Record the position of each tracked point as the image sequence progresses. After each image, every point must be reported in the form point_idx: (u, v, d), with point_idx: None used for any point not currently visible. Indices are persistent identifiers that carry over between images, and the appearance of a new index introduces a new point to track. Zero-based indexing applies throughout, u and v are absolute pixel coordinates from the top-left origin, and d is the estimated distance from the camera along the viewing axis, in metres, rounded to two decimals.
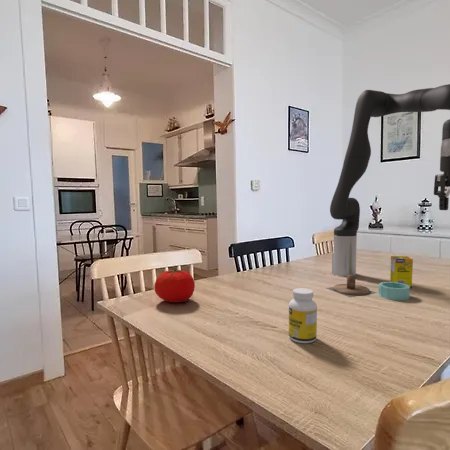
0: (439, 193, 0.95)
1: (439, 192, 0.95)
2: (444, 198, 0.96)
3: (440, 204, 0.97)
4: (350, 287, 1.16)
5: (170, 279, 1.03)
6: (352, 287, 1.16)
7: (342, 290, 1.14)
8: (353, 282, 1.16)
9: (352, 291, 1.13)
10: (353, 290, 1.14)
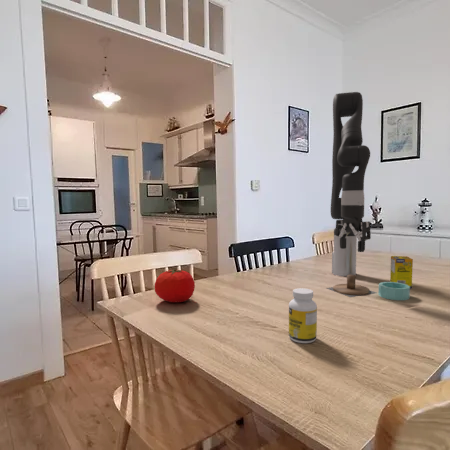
0: (368, 238, 1.09)
1: (368, 237, 1.09)
2: None
3: (362, 247, 1.11)
4: (350, 287, 1.16)
5: (170, 279, 1.03)
6: (352, 287, 1.16)
7: (342, 290, 1.15)
8: (353, 282, 1.16)
9: (352, 291, 1.13)
10: (353, 290, 1.14)
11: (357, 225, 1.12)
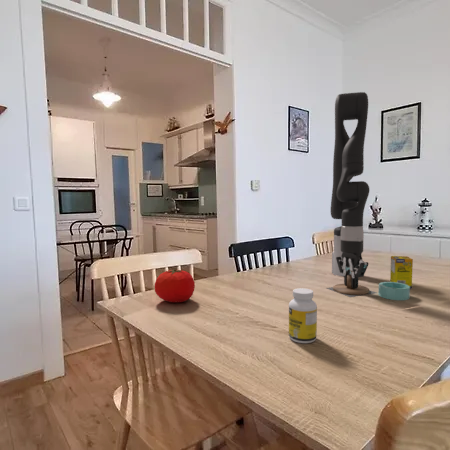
0: (361, 276, 1.13)
1: (361, 275, 1.13)
2: None
3: (355, 284, 1.14)
4: (350, 287, 1.16)
5: (170, 279, 1.03)
6: None
7: (342, 290, 1.15)
8: None
9: (352, 291, 1.13)
10: (353, 290, 1.14)
11: (356, 263, 1.13)
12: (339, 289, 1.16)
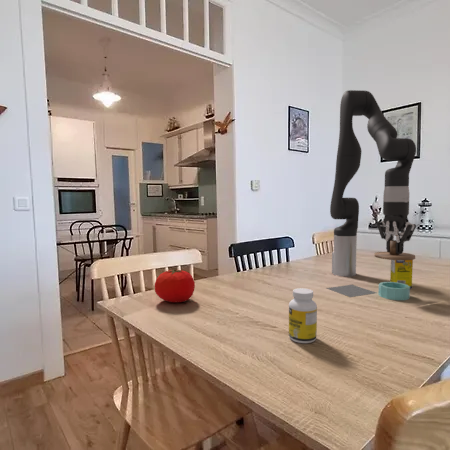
0: (407, 240, 1.05)
1: (408, 238, 1.05)
2: None
3: (401, 249, 1.06)
4: (394, 253, 1.08)
5: (170, 279, 1.03)
6: None
7: (386, 256, 1.06)
8: None
9: (397, 256, 1.05)
10: (398, 256, 1.06)
11: (401, 226, 1.05)
12: (382, 255, 1.07)
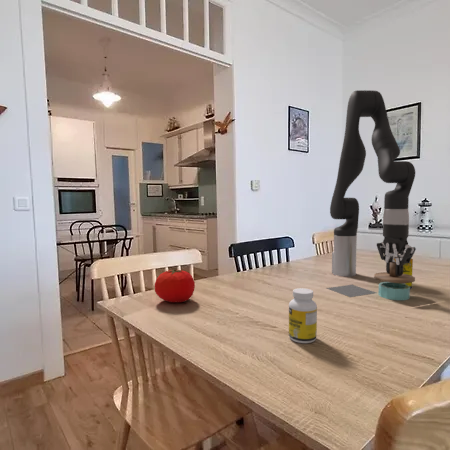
0: (407, 262, 1.05)
1: (407, 261, 1.05)
2: None
3: (400, 271, 1.07)
4: (394, 275, 1.08)
5: (170, 279, 1.03)
6: None
7: (385, 278, 1.07)
8: None
9: (397, 279, 1.05)
10: (397, 278, 1.07)
11: (401, 249, 1.05)
12: (382, 277, 1.08)
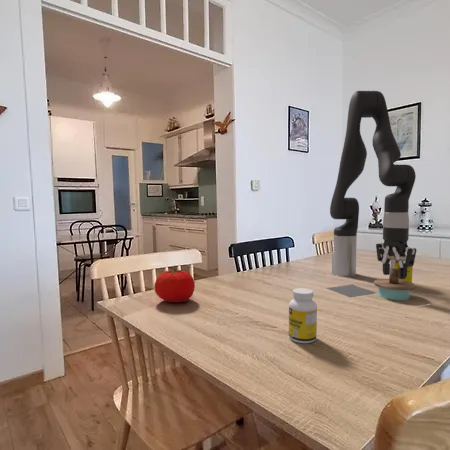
0: (411, 265, 1.04)
1: (411, 264, 1.04)
2: None
3: (404, 274, 1.06)
4: (393, 282, 1.08)
5: (170, 279, 1.03)
6: (396, 282, 1.08)
7: (385, 285, 1.07)
8: (397, 276, 1.08)
9: (397, 286, 1.06)
10: (397, 285, 1.07)
11: (401, 251, 1.05)
12: (382, 284, 1.08)
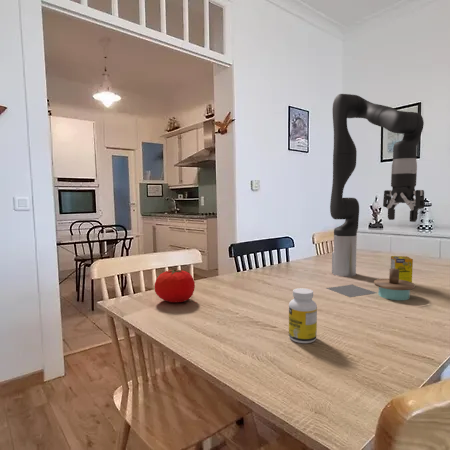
0: (422, 207, 1.06)
1: (422, 206, 1.06)
2: None
3: (415, 216, 1.08)
4: (393, 282, 1.08)
5: (170, 279, 1.03)
6: (396, 282, 1.08)
7: (385, 285, 1.07)
8: (397, 276, 1.08)
9: (397, 286, 1.06)
10: (397, 285, 1.07)
11: (409, 194, 1.08)
12: (382, 284, 1.08)
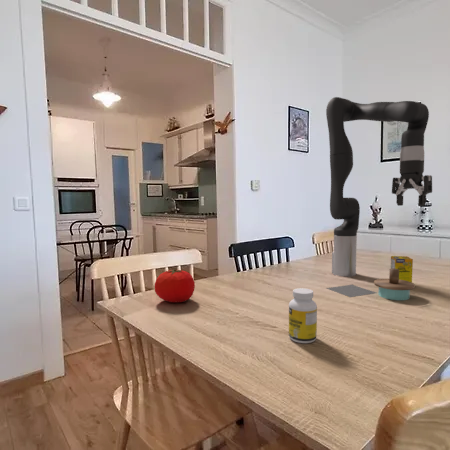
0: (430, 191, 1.12)
1: (430, 190, 1.12)
2: None
3: (423, 201, 1.13)
4: (393, 282, 1.08)
5: (170, 279, 1.03)
6: (396, 282, 1.08)
7: (385, 285, 1.07)
8: (397, 276, 1.08)
9: (397, 286, 1.06)
10: (397, 285, 1.07)
11: (418, 180, 1.14)
12: (382, 284, 1.08)
